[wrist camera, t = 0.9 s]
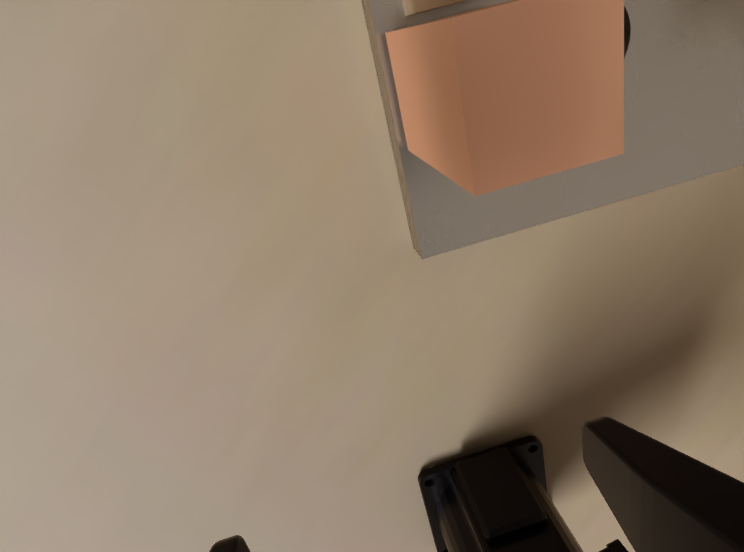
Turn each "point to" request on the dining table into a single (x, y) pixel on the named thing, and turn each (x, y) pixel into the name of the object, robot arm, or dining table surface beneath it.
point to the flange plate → (641, 123)
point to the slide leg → (513, 89)
